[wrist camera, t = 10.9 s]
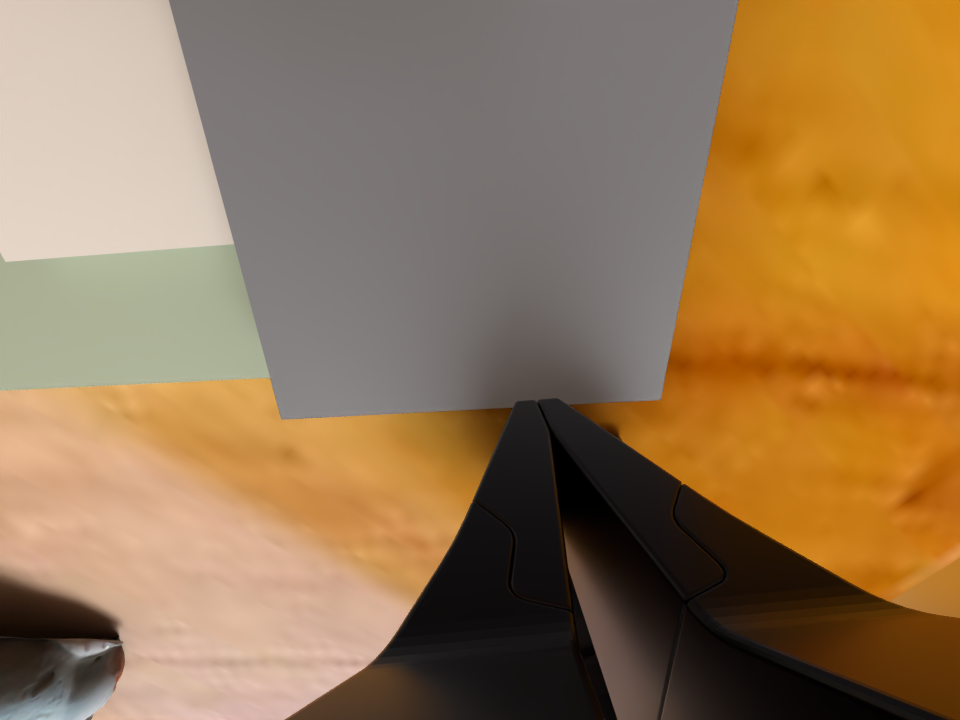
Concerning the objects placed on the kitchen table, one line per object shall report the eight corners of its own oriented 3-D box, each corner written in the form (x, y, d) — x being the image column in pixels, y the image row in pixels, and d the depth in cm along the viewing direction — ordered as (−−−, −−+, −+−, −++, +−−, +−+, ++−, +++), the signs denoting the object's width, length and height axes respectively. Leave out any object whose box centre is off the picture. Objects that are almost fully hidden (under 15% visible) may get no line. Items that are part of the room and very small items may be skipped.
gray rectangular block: (628, 356, 23) (660, 399, 20) (306, 372, 23) (281, 419, 19) (731, -334, 13) (835, -499, 10) (145, -349, 12) (25, -534, 9)
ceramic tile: (270, 230, 19) (252, 242, 17) (46, 248, 19) (5, 261, 17) (192, -54, 15) (158, -77, 13) (-98, -37, 15) (-173, -57, 13)
